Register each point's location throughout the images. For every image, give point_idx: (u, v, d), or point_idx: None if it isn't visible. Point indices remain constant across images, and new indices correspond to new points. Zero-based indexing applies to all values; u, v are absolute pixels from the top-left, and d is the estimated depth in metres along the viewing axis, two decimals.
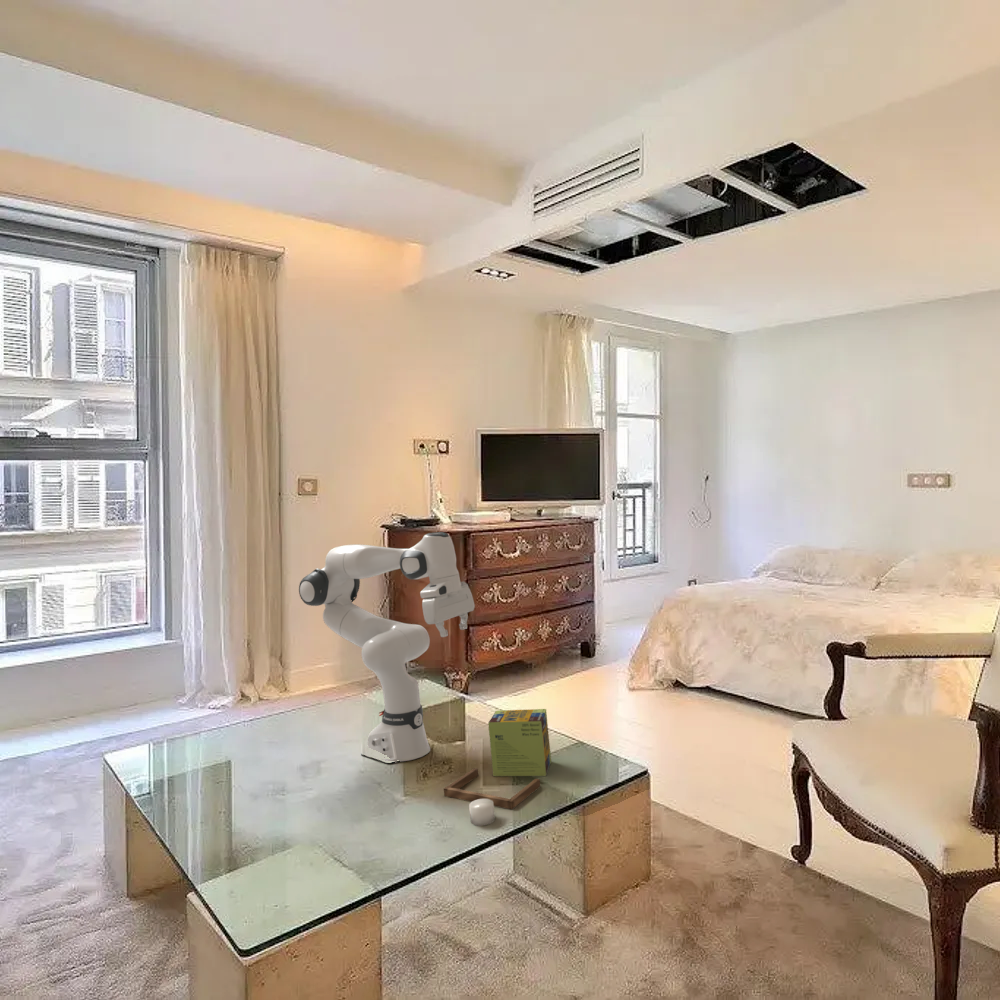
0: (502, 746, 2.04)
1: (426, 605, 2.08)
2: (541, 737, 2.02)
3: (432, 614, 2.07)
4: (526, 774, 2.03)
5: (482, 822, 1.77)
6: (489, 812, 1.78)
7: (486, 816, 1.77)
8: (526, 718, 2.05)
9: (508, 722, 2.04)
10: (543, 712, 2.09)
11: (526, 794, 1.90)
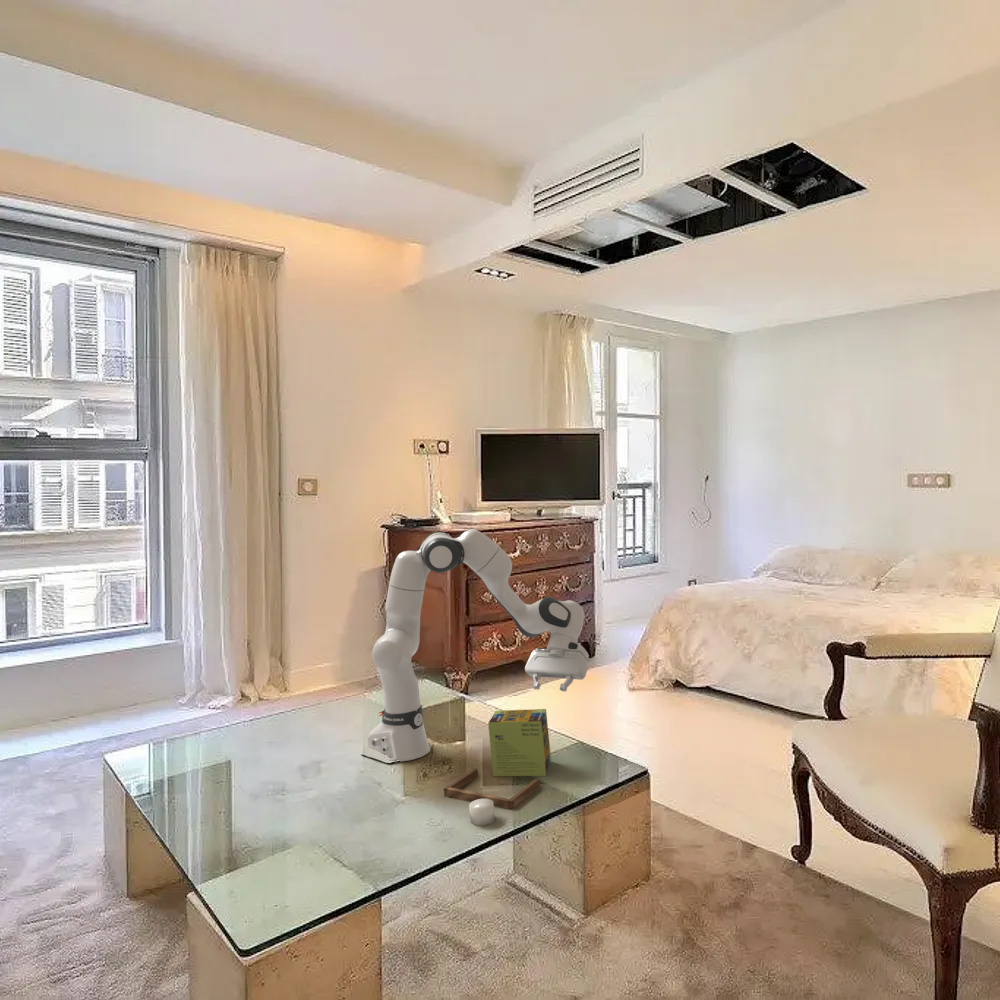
0: (502, 746, 2.04)
1: (584, 660, 2.23)
2: (541, 737, 2.02)
3: (585, 671, 2.23)
4: (526, 774, 2.03)
5: (482, 822, 1.77)
6: (489, 812, 1.78)
7: (486, 816, 1.77)
8: (525, 718, 2.05)
9: (508, 722, 2.04)
10: (543, 712, 2.09)
11: (526, 794, 1.90)
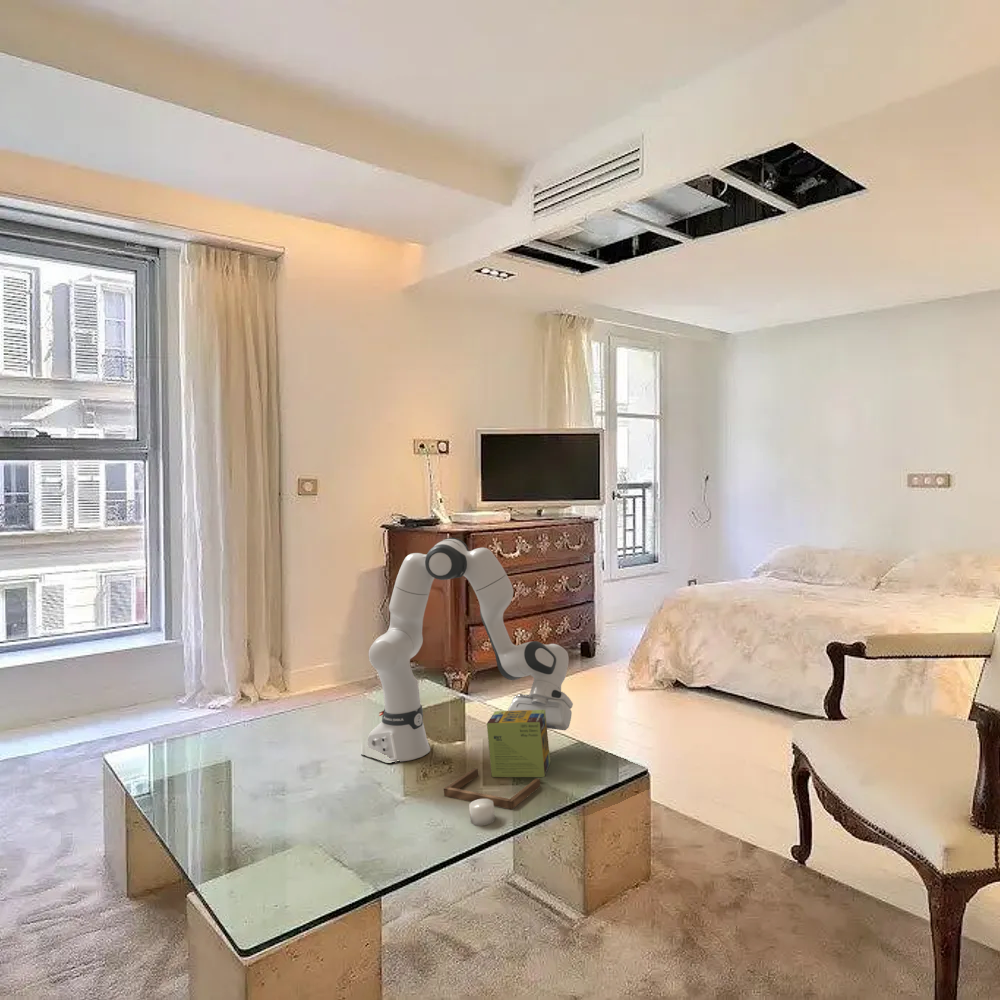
0: (500, 747, 2.04)
1: (568, 709, 2.13)
2: (540, 738, 2.01)
3: (569, 721, 2.13)
4: (525, 775, 2.03)
5: (482, 822, 1.77)
6: (489, 812, 1.78)
7: (486, 816, 1.77)
8: (524, 719, 2.04)
9: (507, 723, 2.03)
10: (542, 713, 2.08)
11: (526, 794, 1.90)
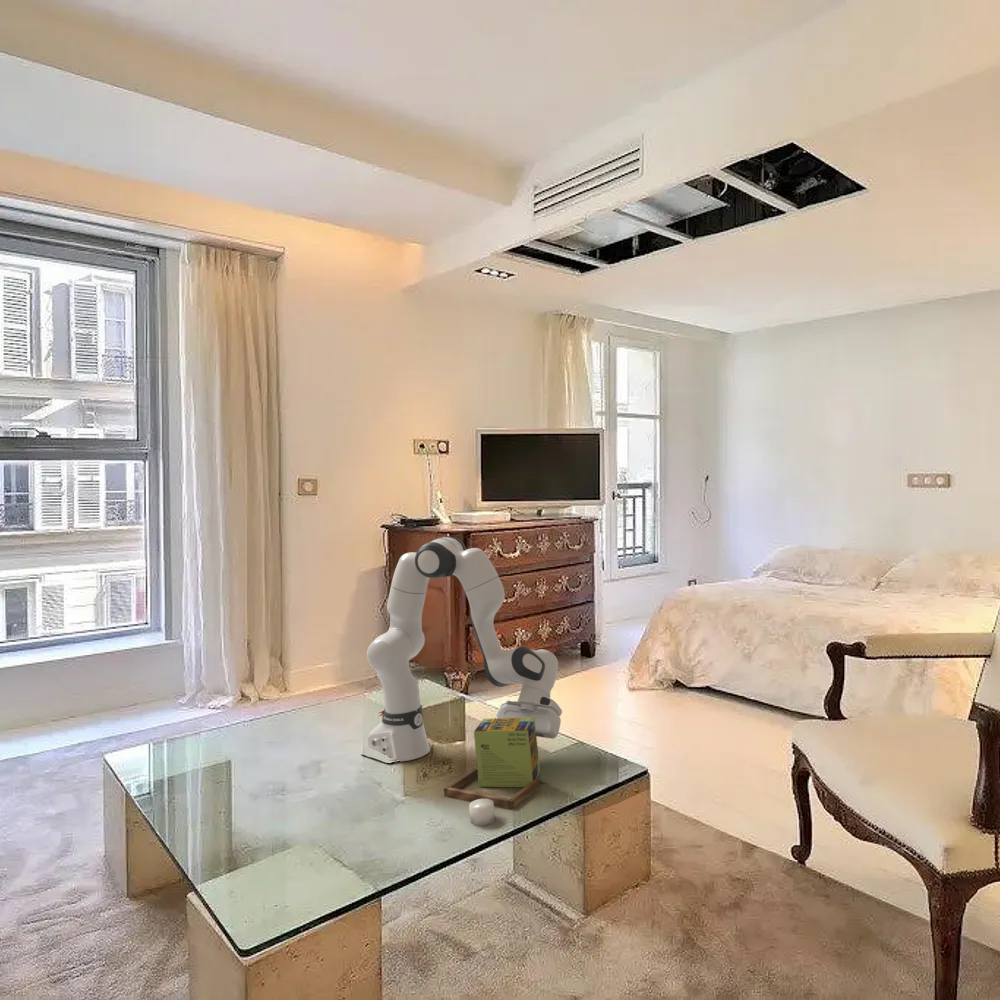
0: (488, 756, 1.98)
1: (556, 717, 2.08)
2: (528, 747, 1.95)
3: (558, 729, 2.07)
4: (513, 785, 1.97)
5: (482, 822, 1.77)
6: (489, 812, 1.78)
7: (486, 816, 1.77)
8: (512, 727, 1.98)
9: (494, 731, 1.97)
10: (531, 721, 2.02)
11: (526, 794, 1.90)
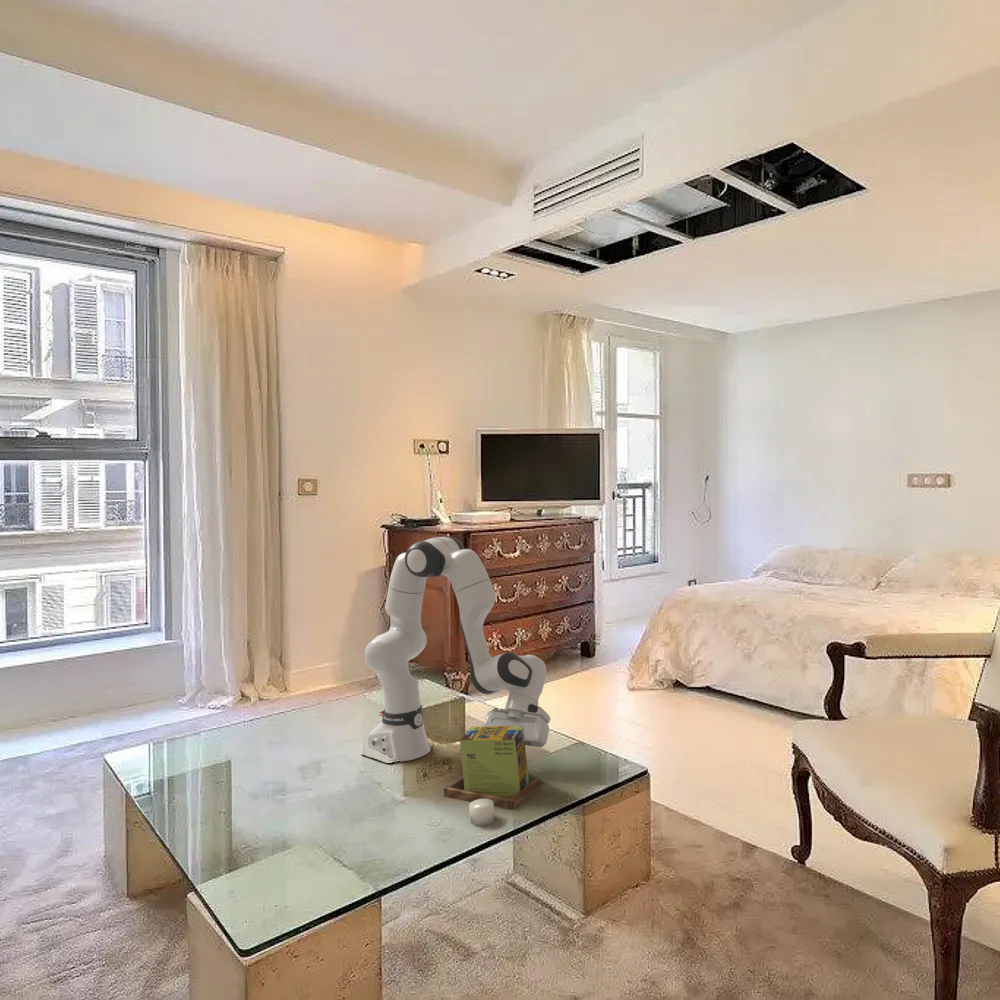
0: (474, 766, 1.92)
1: (545, 725, 2.02)
2: (515, 757, 1.89)
3: (546, 737, 2.01)
4: (499, 796, 1.91)
5: (482, 822, 1.77)
6: (489, 812, 1.78)
7: (486, 816, 1.77)
8: (499, 736, 1.92)
9: (480, 740, 1.92)
10: (519, 729, 1.96)
11: (526, 794, 1.90)
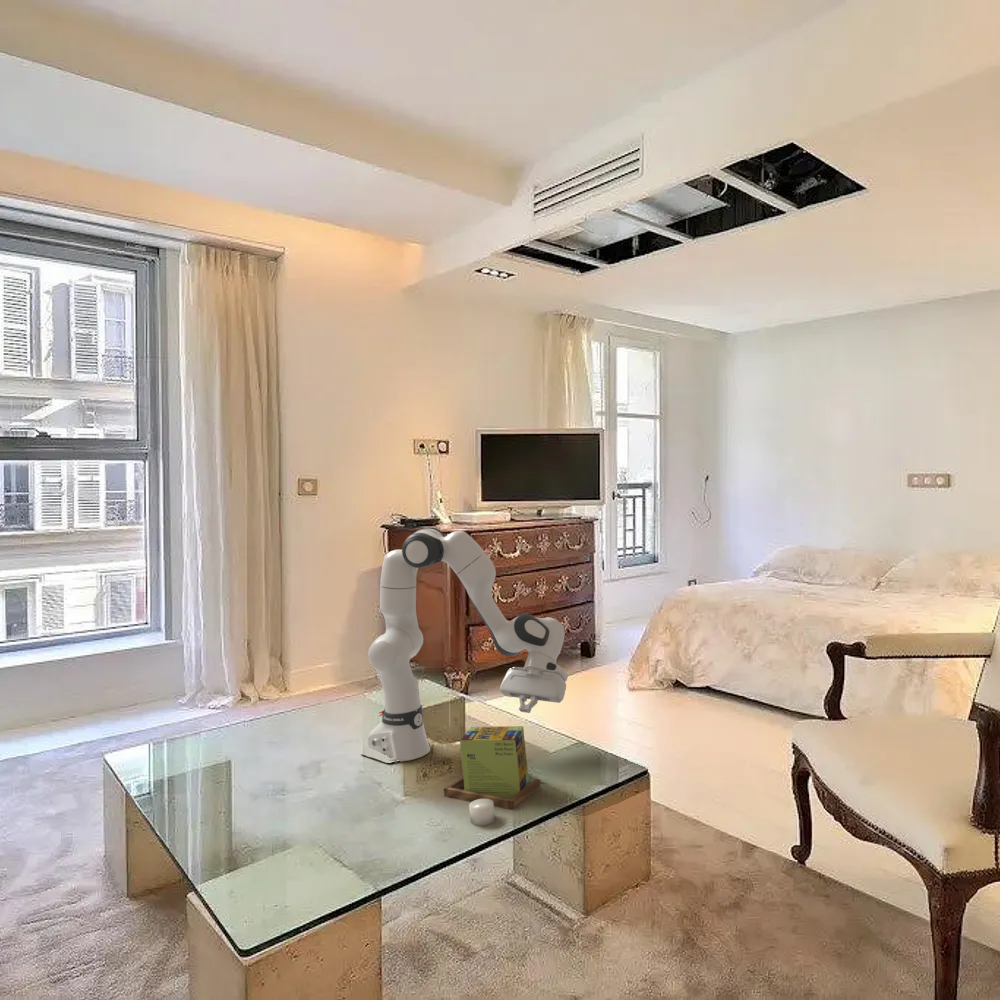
0: (474, 766, 1.92)
1: (562, 682, 2.12)
2: (515, 757, 1.89)
3: (563, 694, 2.11)
4: (499, 796, 1.91)
5: (482, 822, 1.77)
6: (489, 812, 1.78)
7: (486, 816, 1.77)
8: (499, 737, 1.92)
9: (480, 740, 1.92)
10: (519, 730, 1.96)
11: (526, 794, 1.90)
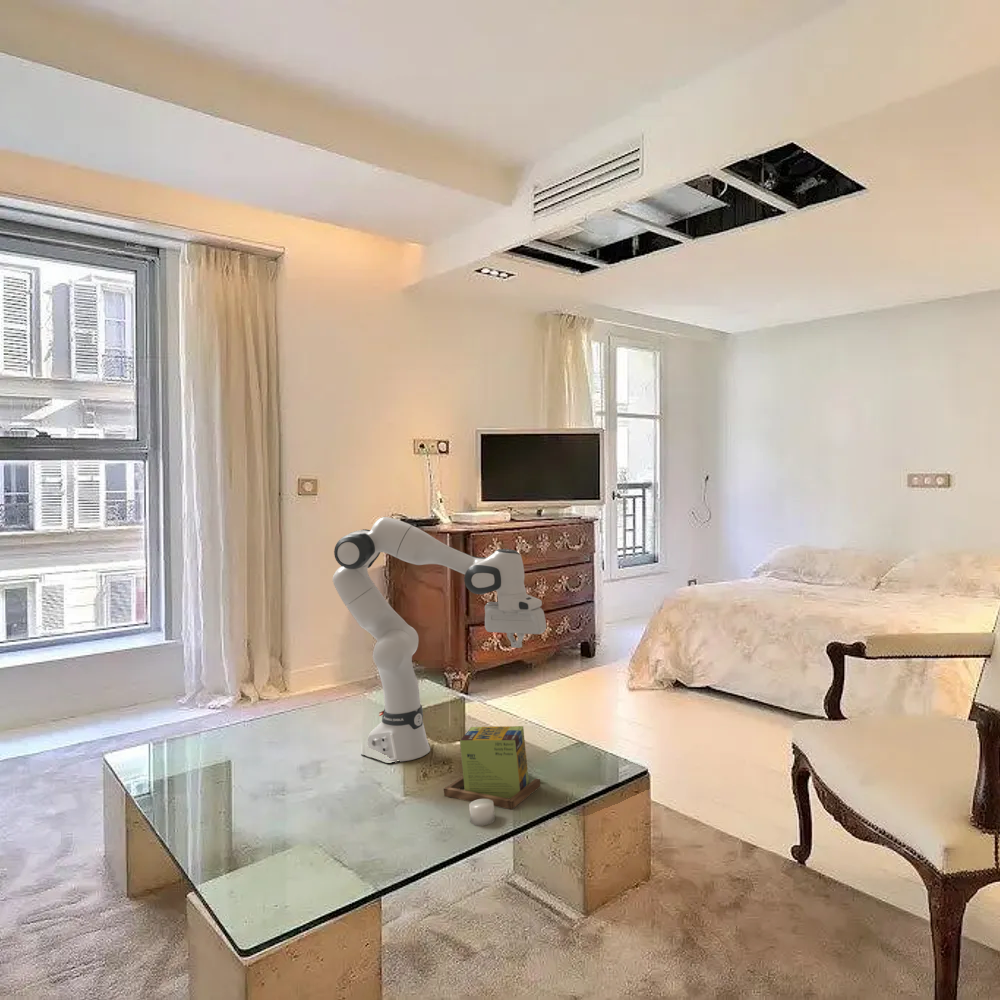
0: (474, 766, 1.92)
1: (539, 615, 2.17)
2: (515, 757, 1.89)
3: (544, 623, 2.19)
4: (499, 796, 1.91)
5: (482, 822, 1.77)
6: (489, 812, 1.78)
7: (486, 816, 1.77)
8: (499, 737, 1.92)
9: (480, 740, 1.92)
10: (519, 730, 1.96)
11: (526, 794, 1.90)
